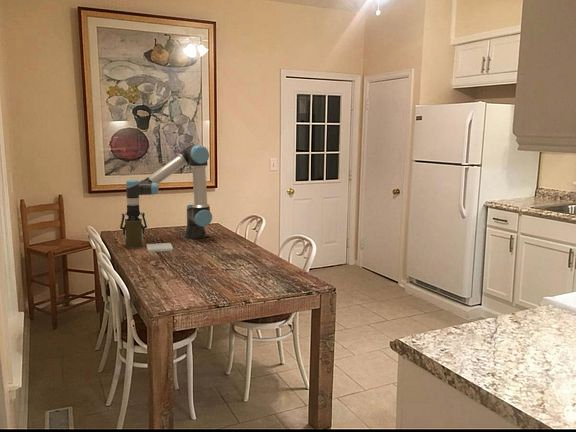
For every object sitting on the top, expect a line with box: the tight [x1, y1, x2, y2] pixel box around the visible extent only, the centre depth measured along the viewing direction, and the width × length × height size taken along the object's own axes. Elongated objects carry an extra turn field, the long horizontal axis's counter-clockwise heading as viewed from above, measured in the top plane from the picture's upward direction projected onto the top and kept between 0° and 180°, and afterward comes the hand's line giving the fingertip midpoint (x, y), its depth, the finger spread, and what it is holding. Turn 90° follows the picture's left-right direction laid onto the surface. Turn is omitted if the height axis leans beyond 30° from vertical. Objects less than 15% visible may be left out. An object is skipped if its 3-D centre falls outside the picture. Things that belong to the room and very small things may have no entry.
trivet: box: [146, 242, 174, 253], centre depth 307 cm, size 15×15×2 cm
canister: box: [124, 216, 143, 249], centre depth 310 cm, size 11×10×20 cm
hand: (134, 239), depth 311 cm, fingers open, 9 cm apart
